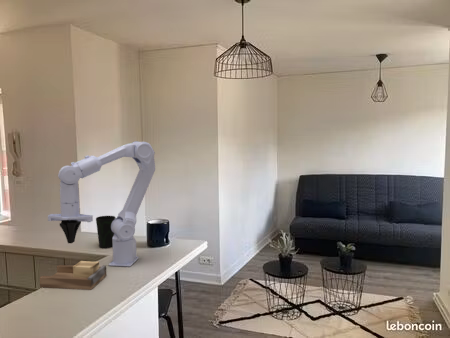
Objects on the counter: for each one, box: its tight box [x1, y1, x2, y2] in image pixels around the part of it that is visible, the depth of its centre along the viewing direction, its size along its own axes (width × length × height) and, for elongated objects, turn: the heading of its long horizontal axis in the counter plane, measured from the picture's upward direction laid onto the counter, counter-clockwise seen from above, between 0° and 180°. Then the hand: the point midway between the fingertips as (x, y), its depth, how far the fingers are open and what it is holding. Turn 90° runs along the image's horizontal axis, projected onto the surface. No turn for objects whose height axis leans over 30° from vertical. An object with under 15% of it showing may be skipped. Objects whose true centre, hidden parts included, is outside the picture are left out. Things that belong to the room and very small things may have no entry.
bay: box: [39, 264, 107, 291], centre depth 116 cm, size 11×16×4 cm
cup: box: [95, 215, 117, 249], centre depth 152 cm, size 8×8×12 cm
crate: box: [73, 260, 100, 278], centre depth 116 cm, size 5×6×5 cm
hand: (71, 242), depth 124 cm, fingers closed
